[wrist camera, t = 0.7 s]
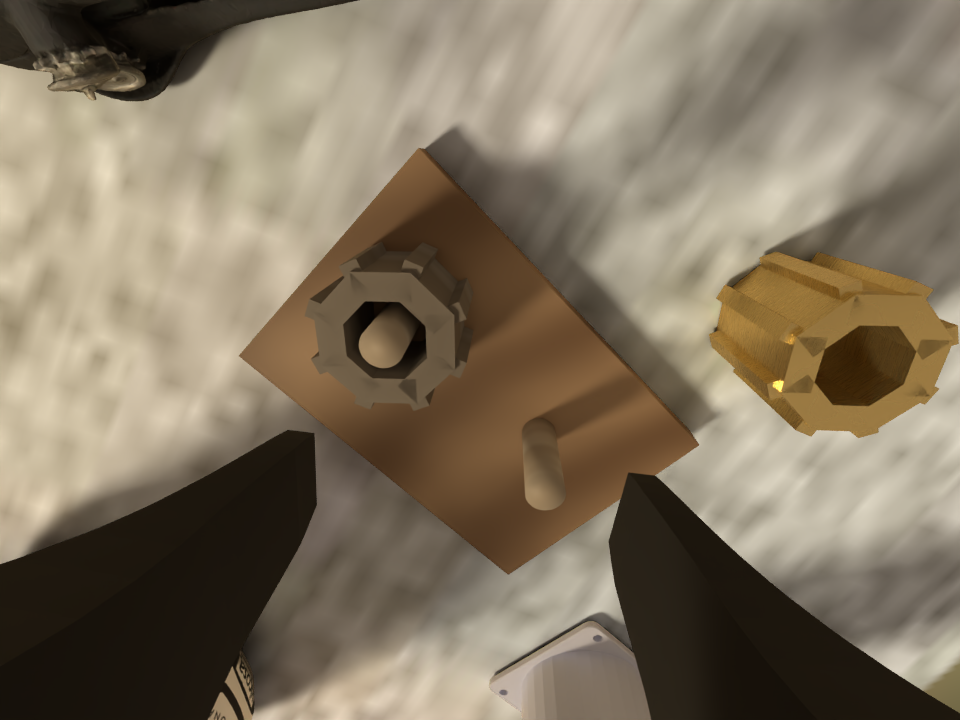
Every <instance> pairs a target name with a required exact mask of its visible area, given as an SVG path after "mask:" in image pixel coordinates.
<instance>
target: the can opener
mask: <svg viewBox="0 0 960 720" xmlns="http://www.w3.org/2000/svg"><path fill="white" fill-rule="evenodd" d="M353 1H358V0H0V64H4V65H8V66H13V67H16V68H22V69H27V70H37V71H45V72H50V73H52V74H53V83H51V84H50V85H48V87H47V88H48V90H51V91H77V92H84V93H85V95H86V96H87V97H88V98H89V99H91V100H96V96H95V93H94V92H96V93H99V94H101V95H104V96H107V97H110V98H114V99H119V100H122V101H123V100H125V101H144V100H149V99H151V98H154V97H156V96H158V95H159V94H160V93H161V92H163V91H164V90H165V89H166V87H167V86H168V84H169V83H170V81H171V80H172V78H173V76H174V74H175V72H176V70H177V68H178V66H179V64H180V62H181V60H182V58H183V56H184V54H185V53H186V51H187V50H188V48H189V47H190V46H192V45H194V44H195V43H197V42H199V41H200V40H202V39H204V38H207V37H208V36H210V35H213V34H215V33H217V32H219V31H222V30H224V29H228V28H231V27H233V26H236V25H239V24H244V23H249V22H251V21H255V20H260V19H264V18H271V17H274V16H279V15H286V14H291V13H296V12H302V11H309V10H314V9H319V8H324V7H328V6H333V5H338V4H344V3H348V2H353Z"/></svg>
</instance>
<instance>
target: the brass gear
mask: <svg viewBox="0 0 960 720" xmlns="http://www.w3.org/2000/svg"><path fill="white" fill-rule="evenodd" d="M760 263H761V265H760V266H758V267H757V268H756V269H754V270H753V271H752V272H751V273H749V274H748V275H747V276H745V277H744V278H743V279H742V280H740V281H739V282H738V283H737V284H735V285H734V286H733V287H730V286H728V285H725V286H724V287H723V289H722V290H721V292H720V293H719V295H718V296H717V298H716V299H718V300H719V301H721V302H722V307H721V312H720V317H719V322H718V326H717V331H716V332H714V333H711V334H709V337H710V341H711V345H712V348H713V349H715V350H716V351H717V352H718V353H719V354H720V355H721V356H722V357H723V358H724V359H726V360H727V361H728V362H729V363H730V364H731V365H732V366H733V367H734V368H735V369H734V371H733V372H734V373H735V374H736V375H737V376H738V377H740V378H741V379H742V380H743V381H744V382H745V383H746V384H747V385H748V386H749V387H750V388H751V389H752V390H753V391H754V392H756V393H757V394H758V395H759V396H760V397H761V398H762V399H763V400H764V401H765V402H766V403H767V404H768V405H769V406H770V407H772V408H773V409H774V410H775V411H776V412H777V413H778V414H779V415H780V416H781V417H782V418H783V419H784V420H785V421H787V422H788V423H789V424H790V425H791V426H792V427H793V428H794V429H795V430H797V431H799V432H802V433H804V434H806V435H809V436H812V435H813V434H814V433H815V431H816V430H831V431H850V432H851V433H853V434H854V435H855V436H856V437H858V438H860V437H864V436H868V435H871V434H875V433H878V432H879V431H878V428H879V427H881V426H882V425H884V424H886V423H887V422H889V421H891V420H892V419H894V418H896V417H897V416H899V415H901V414H902V413H904V412H906V411H907V410H909V409H910V408H912V407H914V406H915V405H917V404H919V403H922V404H924V405H925V404H926V403H927V402H928V401H929V399H930V398H931V397H932V396H933V395H934V394H935V393H936V392H937V391H938V390H939V388H937V387H935V384H936V381H937V379H938V377H939V374H940V372H941V369H942V367H943V365H944V362H945V360H946V358H947V355H948V353H949V350H950V348H951V346H953V345H956V344H959V343H958V325H955V324H952V323H949V322H947V321H944V320H941V319H939V318H938V316H937V315H936V313H935V312H934V310H933V309H932V307H931V306H930V304H929V303H928V302H927V300H926V298H927V297H928V296H929V295H930V294H931V292H932V291H933V289H931V288H929V287H927V286H925V285H923V284H921V283H919V282H917V281H913V280H910V279H907V278H903V277H900V276H897V275H893V274H890V273H886V272H883V271H880V270H876V269H873V268H869V267H866V266H863V265H859V264H856V263H853V262H849V261H846V260H842V259H839V258H836V257H832V256H829V255H826V254H822V253H819V252H817V253H816V255H815V256H814V257H813V259H812V260H811V261H803V260H800V259H797V258H794V257H791V256H788V255H785V254H782V253H779V252H774V253H771V254H768V255H765V256H762V257H760Z"/></svg>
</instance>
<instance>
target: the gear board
mask: <svg viewBox="0 0 960 720" xmlns="http://www.w3.org/2000/svg"><path fill="white" fill-rule="evenodd" d="M239 356H240V357H241V358H242V359H243V360H244V361H246V362H247V363H248V364H249V365H251V366H252V367H253V368H254V369H256V370H257V371H258V372H259V373H260V374H262V375H263V376H264V377H265V378H267V379H268V380H269V381H270V382H272V383H273V384H274V385H275V386H276V387H278V388H279V389H280V390H281V391H283V392H284V393H285V394H286V395H288V396H289V397H290V398H291V399H292V400H294V401H295V402H296V403H297V404H299V405H300V406H301V407H302V408H304V409H305V410H306V411H307V412H309V413H310V414H311V415H312V416H313V417H315V418H316V419H317V420H318V421H320V422H321V423H322V424H323V425H325V426H326V427H327V428H328V429H329V430H331V431H332V432H333V433H334V434H336V435H337V436H338V437H339V438H341V439H342V440H343V441H344V442H345V443H347V444H348V445H349V446H350V447H352V448H353V449H354V450H355V451H357V452H358V453H359V454H360V455H361V456H363V457H364V458H365V459H366V460H368V461H369V462H370V463H371V464H373V465H374V466H375V467H376V468H377V469H379V470H380V471H381V472H382V473H384V474H385V475H386V476H387V477H389V478H390V479H391V480H392V481H393V482H395V483H396V484H397V485H398V486H400V487H401V488H402V489H403V490H405V491H406V492H407V493H408V494H409V495H411V496H412V497H413V498H414V499H416V500H417V501H418V502H419V503H421V504H422V505H423V506H424V507H426V508H427V509H428V510H429V511H430V512H432V513H433V514H434V515H435V516H437V517H438V518H439V519H440V520H442V521H443V522H444V523H445V524H446V525H448V526H449V527H450V528H451V529H453V530H454V531H455V532H456V533H458V534H459V535H460V536H461V537H462V538H464V539H465V540H466V541H467V542H469V543H470V544H471V545H472V546H474V547H475V548H476V549H477V550H478V551H480V552H481V553H482V554H483V555H485V556H486V557H487V558H488V559H490V560H491V561H492V562H493V563H494V564H496V565H497V566H498V567H499V568H501V569H502V570H503V571H504V572H506V573H507V574H510V573H511V572H513V571H514V570H516V569H517V568H519V567H520V566H522V565H523V564H525V563H526V562H528V561H529V560H531V559H532V558H534V557H535V556H537V555H538V554H539V553H541V552H542V551H544V550H545V549H547V548H548V547H550V546H551V545H553V544H554V543H556V542H557V541H559V540H560V539H562V538H563V537H565V536H566V535H567V534H569V533H570V532H572V531H573V530H575V529H576V528H578V527H579V526H581V525H582V524H584V523H585V522H587V521H588V520H590V519H591V518H593V517H594V516H596V515H597V514H598V513H600V512H601V511H603V510H604V509H606V508H607V507H609V506H610V505H612V504H613V503H615V502H616V501H618V500H619V499H621V496H622V493H623V489H624V486H625V482H626V478H627V475H628V472H630V473H638V474H646V475H654V476H655V475H656V474H658V473H659V472H660V471H662V470H663V469H665V468H666V467H668V466H669V465H671V464H672V463H674V462H675V461H677V460H678V459H680V458H681V457H683V456H684V455H686V454H687V453H689V452H690V451H691V450H693V449H694V448H696V447H697V446H699V444H698V442H697V441H696V439H695V438H694V436H693V435H692V433H691V432H690V430H689V429H688V428H687V427H686V426H685V425H684V424H683V423H682V422H681V421H680V420H679V419H678V418H677V417H676V415H675V414H674V413H673V412H672V411H671V410H670V409H669V408H668V407H667V406H666V405H665V404H664V403H663V402H662V401H661V400H660V398H659V397H658V396H657V395H656V394H655V393H654V392H653V391H652V390H651V389H650V388H649V387H648V386H647V385H646V384H645V383H644V382H643V380H642V379H641V378H640V377H639V376H638V375H637V374H636V373H635V372H634V371H633V370H632V369H631V368H630V367H629V366H628V365H627V363H626V362H625V361H624V360H623V359H622V358H621V357H620V356H619V355H618V354H617V353H616V352H615V351H614V350H613V349H612V348H611V346H610V345H609V344H608V343H607V342H606V341H605V340H604V339H603V338H602V337H601V336H600V335H599V334H598V333H597V332H596V331H595V330H594V328H593V327H592V326H591V325H590V324H589V323H588V322H587V321H586V320H585V319H584V318H583V317H582V316H581V315H580V314H579V313H578V311H577V310H576V309H575V308H574V307H573V306H572V305H571V304H570V303H569V302H568V301H567V300H566V299H565V298H564V297H563V296H562V294H561V293H560V292H559V291H558V290H557V289H556V288H555V287H554V286H553V285H552V284H551V283H550V282H549V281H548V280H547V279H546V278H545V276H544V275H543V274H542V273H541V272H540V271H539V270H538V269H537V268H536V267H535V266H534V265H533V264H532V263H531V262H530V261H529V259H528V258H527V257H526V256H525V255H524V254H523V253H522V252H521V251H520V250H519V249H518V248H517V247H516V246H515V245H514V244H513V242H512V241H511V240H510V239H509V238H508V237H507V236H506V235H505V234H504V233H503V232H502V231H501V230H500V229H499V228H498V227H497V226H496V224H495V223H494V222H493V221H492V220H491V219H490V218H489V217H488V216H487V215H486V214H485V213H484V212H483V211H482V210H481V209H480V207H479V206H478V205H477V204H476V203H475V202H474V201H473V200H472V199H471V198H470V197H469V196H468V195H467V194H466V193H465V192H464V190H463V189H462V188H461V187H460V186H459V185H458V184H457V183H456V182H455V181H454V180H453V179H452V178H451V177H450V176H449V175H448V174H447V172H446V171H445V170H444V169H443V168H442V167H441V166H440V165H439V164H438V163H437V162H436V161H435V160H434V159H433V158H432V157H431V155H430V154H429V153H428V152H427V151H426V150H425V149H421V148H418V149H417V150H416V152H415V153H414V154H413V155H412V156H411V157H410V159H409V160H408V161H407V162H406V163H405V164H404V165H403V167H402V168H401V169H400V170H399V171H398V172H397V174H396V175H395V176H394V177H393V178H392V179H391V180H390V182H389V183H388V184H387V185H386V186H385V187H384V189H383V190H382V191H381V192H380V193H379V194H378V196H377V197H376V198H375V199H374V200H373V201H372V202H371V204H370V205H369V206H368V207H367V208H366V209H365V211H364V212H363V213H362V214H361V215H360V216H359V217H358V219H357V220H356V221H355V222H354V223H353V224H352V226H351V227H350V228H349V229H348V230H347V231H346V233H345V234H344V235H343V236H342V237H341V238H340V239H339V241H338V242H337V243H336V244H335V245H334V246H333V248H332V249H331V250H330V251H329V252H328V253H327V254H326V256H325V257H324V258H323V259H322V260H321V261H320V263H319V264H318V265H317V266H316V267H315V268H314V270H313V271H312V272H311V273H310V274H309V275H308V276H307V278H306V279H305V280H304V281H303V282H302V283H301V285H300V286H299V287H298V288H297V289H296V290H295V291H294V293H293V294H292V295H291V296H290V297H289V298H288V300H287V301H286V302H285V303H284V304H283V305H282V307H281V308H280V309H279V310H278V311H277V312H276V313H275V315H274V316H273V317H272V318H271V319H270V320H269V322H268V323H267V324H266V325H265V326H264V327H263V328H262V330H261V331H260V332H259V333H258V334H257V335H256V337H255V338H254V339H253V340H252V341H251V342H250V344H249V345H248V346H247V347H246V348H245V349H244V350H243V352H242V353H241V354H240V355H239Z"/></svg>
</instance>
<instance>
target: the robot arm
mask: <svg viewBox="0 0 960 720" xmlns="http://www.w3.org/2000/svg"><path fill="white" fill-rule="evenodd" d="M316 505H317V498H316V468H315V438H314V433H308V432H300V431H292V430H287V431H285V432H283V433H281V434H279V435H277V436H276V437H274V438H272V439H270V440H269V441H267V442H265V443H263V444H262V445H260V446H258V447H257V448H255V449H253V450H251V451H250V452H248V453H246V454H245V455H243V456H241V457H239V458H238V459H236V460H234V461H232V462H231V463H229V464H227V465H225V466H224V467H222V468H220V469H218V470H217V471H215V472H213V473H211V474H209V475H208V476H206V477H204V478H202V479H200V480H198V481H196V482H194V483H192V484H190V485H188V486H187V487H185V488H183V489H181V490H179V491H177V492H175V493H173V494H171V495H169V496H167V497H165V498H164V499H162V500H160V501H158V502H155V503H153V504H151V505H149V506H147V507H145V508H143V509H141V510H139V511H136V512H134V513H132V514H130V515H128V516H125V517H123V518H121V519H118V520H116V521H114V522H111V523H109V524H107V525H104V526H102V527H100V528H97V529H95V530H92V531H90V532H88V533H85V534H82V535H80V536H77V537H74V538H72V539H69V540H66V541H64V542H61V543H58V544H56V545H53V546H50V547H48V548H45V549H42V550H40V551H37V552H34V553H31V554H29V555H26V556H23V557H21V558H18V559H15V560H12V561H9V562H6V563H3V564H0V720H208V718H209V716H210V714H211V711H212V709H213V707H214V705H215V703H216V700H217V698H218V696H219V694H220V692H221V690H222V687H223V685H224V683H225V681H226V679H227V677H228V674H229V672H230V670H231V668H232V666H233V664H234V662H235V660H236V658H237V656H238V654H239V652H240V650H241V648H242V646H243V644H244V643H245V641H246V639H247V637H248V635H249V634H250V632H251V630H252V628H253V627H254V625H255V623H256V621H257V620H258V618H259V616H260V614H261V613H262V611H263V609H264V608H265V606H266V604H267V602H268V601H269V599H270V597H271V595H272V594H273V592H274V590H275V588H276V587H277V585H278V583H279V582H280V580H281V578H282V576H283V575H284V573H285V571H286V569H287V568H288V566H289V564H290V562H291V560H292V559H293V557H294V555H295V553H296V552H297V550H298V548H299V546H300V544H301V542H302V539H303V537H304V535H305V532H306V530H307V528H308V525H309V523H310V520H311V518H312V515H313V513H314V510H315V508H316ZM609 547H610V555H611V562H612V569H613V575H614V582H615V587H616V590H617V594H618V598H619V602H620V605H621V609H622V613H623V616H624V620H625V623H626V627H627V631H628V634H629V638H630V641H631V645H632V648H633V652H634V653H633V652H632V651H631V650H630V649H628V648H627V647H626V646H625V645H624V644H622V643H621V642H620V641H619V640H617V639H616V638H615V637H614V636H613V635H611V634H610V633H609V632H608V631H607V630H605V629H604V628H603V627H602V626H601V625H599V624H598V623H597V622H595V621H587V622H585V623H583V624H582V625H580V626H578V627H576V628H575V629H573V630H571V631H570V632H568V633H566V634H565V635H563V636H561V637H560V638H558V639H556V640H555V641H553V642H551V643H550V644H548V645H546V646H544V647H543V648H541V649H539V650H538V651H536V652H534V653H533V654H531V655H529V656H528V657H526V658H524V659H523V660H521V661H519V662H518V663H516V664H514V665H512V666H511V667H509V668H507V669H506V670H504V671H502V672H501V673H499V674H497V675H496V676H494V677H492V678H491V679H490V681H489V688H490V690H491V691H492V692H494V693H495V694H496V695H498V696H499V697H501V698H502V699H503V700H505V701H506V702H508V703H509V704H510V705H512V706H513V707H515V708H516V709H517V710H519V711H520V712H522V720H960V713H958V712H957V711H955V710H953V709H952V708H950V707H948V706H947V705H945V704H943V703H942V702H940V701H938V700H937V699H935V698H933V697H932V696H930V695H928V694H927V693H925V692H924V691H922V690H921V689H919V688H917V687H916V686H914V685H913V684H911V683H910V682H908V681H906V680H905V679H903V678H902V677H900V676H899V675H897V674H895V673H894V672H892V671H891V670H889V669H888V668H886V667H885V666H883V665H882V664H880V663H879V662H877V661H876V660H875V659H873V658H872V657H870V656H869V655H867V654H866V653H864V652H863V651H861V650H860V649H858V648H857V647H855V646H854V645H852V644H851V643H849V642H848V641H847V640H845V639H844V638H842V637H841V636H840V635H838V634H837V633H835V632H834V631H833V630H831V629H830V628H828V627H827V626H826V625H824V624H823V623H822V622H820V621H819V620H818V619H816V618H815V617H814V616H812V615H811V614H810V613H809V612H807V611H806V610H805V609H803V608H802V607H801V606H799V605H798V604H797V603H795V602H794V601H793V600H792V599H790V598H789V597H788V596H786V595H785V594H784V593H783V592H782V591H780V590H779V589H778V588H777V587H775V586H774V585H773V584H772V583H770V582H769V581H768V580H767V579H766V578H765V577H763V576H762V575H761V574H760V573H759V572H758V571H757V570H755V569H754V568H753V567H752V566H751V565H750V564H748V563H747V562H746V561H745V560H744V559H743V558H742V557H740V556H739V555H738V554H737V553H736V552H735V551H734V550H733V549H732V548H731V547H729V546H728V545H727V544H726V543H725V542H724V541H723V540H722V539H721V538H720V537H719V536H718V535H717V534H716V533H714V532H713V531H712V530H711V529H710V528H709V527H708V526H707V525H706V524H705V523H704V522H703V521H702V520H701V519H700V518H699V517H698V516H697V515H696V514H695V513H694V512H693V511H692V510H691V509H690V508H689V507H688V506H687V505H686V504H685V503H684V502H683V501H682V500H681V499H680V498H678V497H677V496H676V495H675V494H674V493H673V492H672V491H671V490H670V489H669V488H668V487H667V486H666V485H665V484H664V483H663V482H662V481H661V480H660V479H658V478H657V477H656V476H654V475H646V474H638V473H630V472H628V475H627V478H626V482H625V486H624V489H623V493H622V496H621V500H620V503H619V507H618V510H617V514H616V517H615V521H614V525H613V528H612V532H611V535H610V539H609Z"/></svg>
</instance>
